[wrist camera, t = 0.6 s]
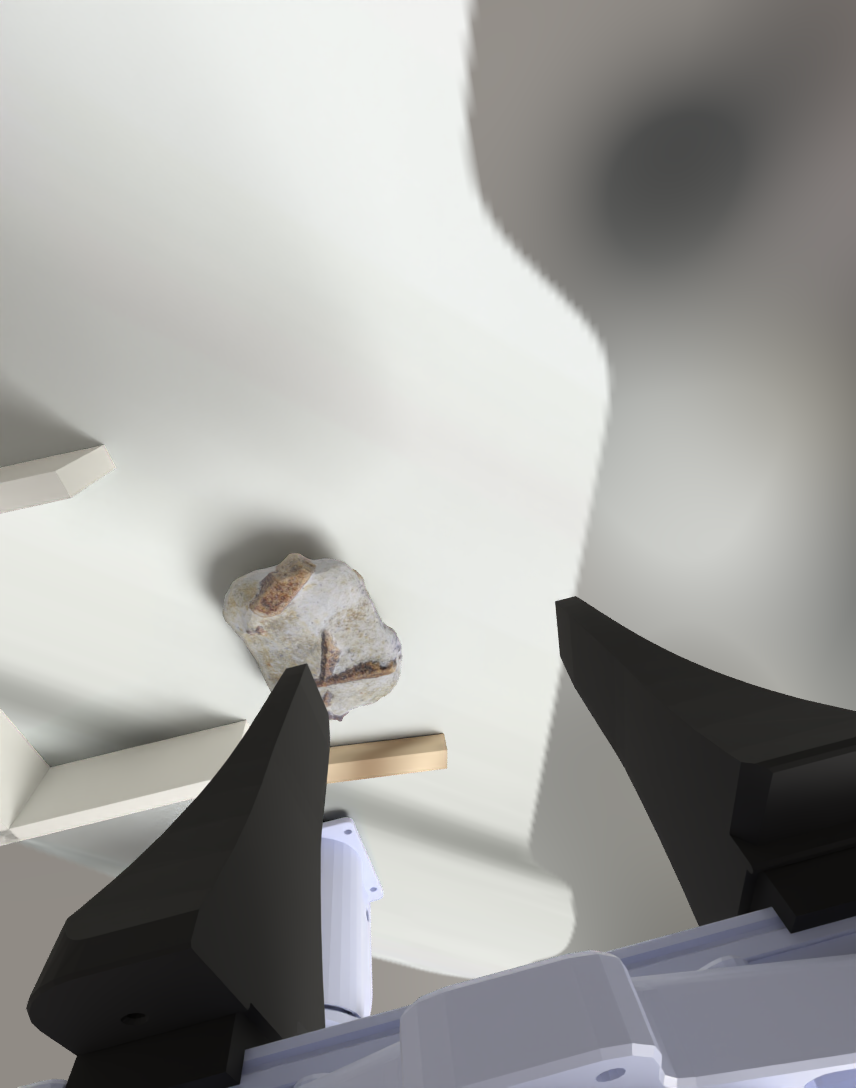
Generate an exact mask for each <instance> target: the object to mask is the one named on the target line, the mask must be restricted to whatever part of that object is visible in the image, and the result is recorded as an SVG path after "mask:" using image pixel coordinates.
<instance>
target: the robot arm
mask: <svg viewBox="0 0 856 1088" xmlns="http://www.w3.org/2000/svg"><path fill="white" fill-rule="evenodd" d="M555 605H556V616H557V627H558V638H559V649H560V657H561V659H562V661H563V663H564V666H565V668H566V670H567V672H568V674H569V676H570V678H571V681H572V683H573V685H574V687H575V689H576V690H577V692H578V693H579V695H580V697H581V698H582V700H583V701H584V703H585V705H586V706H587V708H588V710H589V711H590V713H591V714H592V716H593V717H594V719H595V720H596V722H597V724H598V725H599V727H600V729H601V730H602V732H603V733H604V735H605V736H606V738H607V739H608V741H609V743H610V744H611V746H612V747H613V749H614V751H615V752H616V754H617V756H618V757H619V759H620V761H621V762H622V764H623V766H624V767H625V769H626V772H627V774H628V776H629V777H630V780H631V782H632V783H633V786H634V787H635V789H636V791H637V793H638V795H639V797H640V799H641V801H642V803H643V805H644V808H645V810H646V812H647V814H648V816H649V818H650V820H651V822H652V824H653V826H654V828H655V830H656V832H657V834H658V836H659V838H660V840H661V843H662V845H663V847H664V849H665V852H666V854H667V856H668V858H669V860H670V862H671V864H672V867H673V869H674V871H675V873H676V875H677V877H678V880H679V882H680V884H681V886H682V888H683V891H684V893H685V895H686V898H687V900H688V902H689V905H690V907H691V909H692V911H693V914H694V916H695V918H696V920H697V923H698V925H699V927H696V928H692V929H688V930H684V931H681V932H677V933H674V934H670V935H666V936H662V937H659V938H655V939H651V940H648V941H644V942H640V943H636V944H633V945H629V946H626V947H622V948H618V949H614V950H611V951H607V952H601V951H596V950H590V951H582V952H575V953H568V954H564V955H561V956H557V957H553V958H550V959H546V960H542V961H538V962H535V963H531V964H527V965H524V966H520V967H516V968H513V969H509V970H505V971H501V972H498V973H494V974H490V975H487V976H483V977H479V978H476V979H472V980H468V981H465V982H461V983H457V984H453V985H450V986H446V987H443V988H441V989H438V990H436V991H433V992H431V993H428V994H426V995H424V996H421V997H419V999H417V1000H416V1001H415V1002H414V1003H413V1004H411V1005H408V1006H404V1007H401V1008H397V1009H393V1010H390V1011H386V1012H382V1013H379V1014H375V1015H372V1016H370V1013H371V1007H372V953H371V909H370V902H372V901H376V900H379V899H381V898H382V897H383V889H382V886H381V884H380V882H379V879H378V877H377V875H376V872H375V870H374V868H373V865H372V863H371V860H370V858H369V856H368V853H367V851H366V849H365V846H364V844H363V842H362V839H361V837H360V835H359V832H358V830H357V828H356V825H355V823H354V821H353V819H352V818H349V817H344V818H340V819H336V820H332V821H328V822H324V823H323V815H324V805H325V795H326V785H327V775H328V764H329V753H330V732H329V714H328V711H327V709H326V707H325V704H324V702H323V699H322V697H321V695H320V692H319V690H318V688H317V685H316V683H315V680H314V678H313V676H312V673H311V671H310V669H309V666H308V664H307V663H306V664H302V665H298V666H294V667H290V668H286V669H285V671H284V672H283V674H282V676H281V677H280V679H279V680H278V682H277V684H276V685H275V687H274V689H273V690H272V692H271V694H270V695H269V697H268V699H267V700H266V702H265V703H264V705H263V707H262V708H261V710H260V711H259V713H258V715H257V716H256V718H255V719H254V721H253V722H252V724H251V726H250V727H249V729H248V730H247V732H246V733H245V735H244V736H243V738H242V739H241V741H240V742H239V743H238V745H237V746H236V748H235V749H234V751H233V752H232V753H231V755H230V756H229V758H228V759H227V760H226V762H225V763H224V764H223V766H222V767H221V768H220V770H219V771H218V772H217V773H216V775H215V776H214V777H213V778H212V780H211V781H210V782H209V783H208V784H207V786H206V787H205V788H204V789H203V790H202V792H201V793H200V794H199V795H198V796H197V797H196V799H195V800H194V801H193V802H192V803H191V804H190V805H189V806H188V807H187V808H186V810H185V811H184V812H183V813H182V814H181V815H180V816H179V817H178V818H177V819H176V820H175V821H174V822H173V823H172V825H171V826H170V827H169V828H168V829H167V830H166V831H165V832H164V833H163V834H162V835H161V836H160V837H159V838H158V839H157V840H156V841H155V842H154V843H153V844H152V845H151V846H150V847H149V848H148V849H147V850H146V851H145V852H144V853H143V854H141V855H140V856H139V857H138V858H137V859H136V860H135V861H134V862H133V863H132V864H131V865H130V866H129V867H128V868H126V869H125V870H124V871H123V872H122V873H121V874H120V875H119V876H118V877H116V878H115V879H114V880H113V881H112V882H111V883H110V884H108V885H107V886H106V887H105V888H104V889H102V890H101V891H100V892H99V893H98V894H96V895H95V896H94V897H93V898H92V899H91V900H89V901H88V902H87V903H86V904H85V905H83V906H82V907H81V908H80V909H79V910H78V911H76V912H75V913H74V914H73V915H71V916H70V917H69V918H68V919H67V920H66V922H65V924H64V926H63V928H62V930H61V932H60V934H59V937H58V939H57V941H56V943H55V945H54V947H53V949H52V951H51V953H50V955H49V958H48V960H47V962H46V964H45V966H44V968H43V970H42V972H41V974H40V977H39V979H38V981H37V983H36V985H35V987H34V989H33V991H32V993H31V995H30V998H29V1001H28V1004H27V1008H26V1009H27V1012H28V1015H29V1017H30V1020H31V1022H32V1024H34V1025H35V1026H36V1027H37V1028H38V1029H39V1030H40V1031H41V1032H43V1033H44V1034H46V1035H47V1036H49V1037H50V1038H51V1039H53V1040H54V1041H56V1042H57V1043H59V1044H60V1045H62V1046H63V1047H65V1048H66V1049H68V1050H69V1051H71V1052H72V1053H74V1054H75V1055H77V1058H76V1060H75V1063H74V1066H73V1068H72V1071H71V1074H70V1076H69V1079H68V1081H66V1080H62V1079H51V1080H45V1081H40V1082H36V1083H33V1084H29V1085H25V1086H21V1087H18V1088H856V711H852V710H847V709H843V708H839V707H834V706H830V705H825V704H821V703H817V702H812V701H808V700H804V699H800V698H796V697H792V696H788V695H785V694H782V693H778V692H775V691H771V690H768V689H765V688H761V687H758V686H755V685H752V684H749V683H746V682H743V681H740V680H737V679H735V678H732V677H729V676H726V675H723V674H721V673H718V672H715V671H713V670H710V669H708V668H705V667H703V666H701V665H698V664H696V663H694V662H691V661H689V660H687V659H684V658H682V657H680V656H678V655H676V654H674V653H672V652H669V651H667V650H666V649H664V648H661V647H660V646H658V645H656V644H654V643H652V642H650V641H648V640H646V639H645V638H643V637H641V636H639V635H637V634H636V633H634V632H632V631H631V630H629V629H627V628H625V627H624V626H622V625H620V624H619V623H617V622H616V621H614V620H612V619H611V618H609V617H608V616H606V615H604V614H603V613H601V612H600V611H598V610H596V609H595V608H594V607H592V606H590V605H589V604H587V603H586V602H584V601H583V600H581V599H579V598H578V597H576V596H575V597H571V598H567V599H563V600H559V601H555Z"/></svg>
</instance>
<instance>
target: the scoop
mask: <svg viewBox="0 0 856 1088" xmlns="http://www.w3.org/2000/svg"><path fill="white" fill-rule="evenodd" d="M446 768H447V747H446V742H445V737H444V734H437V735H429V736H421V737H412V738H404V739H395V740H387V741H378V742H370V743H361V744H353V745H344V746H336V747H330V753H329V764H328V775H327V783H335V782H343V781H351V780H359V779H367V778H375V777H383V776H391V775H398V774H406V773H414V772H422V771H430V770H438V769H446Z"/></svg>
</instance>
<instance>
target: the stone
mask: <svg viewBox="0 0 856 1088" xmlns="http://www.w3.org/2000/svg"><path fill="white" fill-rule="evenodd" d="M223 616H224V619H225V621H226V622H227V623H228V624H229V625H230V626H231V628H232V629H233V630H234V631H235V632H236V633H237V634H238V636H239V637H240V638H241V639H242V640H243V641H244V642H245V644H246V645H247V647H248V649H249V651H250V652H251V653H252V655H253V656H254V658H255V659H256V660H257V662H258V664H259V667H260V669H261V671H262V674H263V676H264V678H265V681H266V683H267V685H268V687H269V689H270V691H271V692H272V690H273V689H274V687H275V685H276V684H277V682H278V680H279V679H280V677H281V676H282V674H283V672H284V671H285V669H286V668H290V667H294V666H298V665H302V664H306V663H307V664H308V666H309V669H310V671H311V673H312V676H313V678H314V680H315V683H316V685H317V688H318V690H319V692H320V695H321V697H322V699H323V702H324V704H325V707H326V709H327V711H328V714H329V720H338V721H342V719H343V717H344V716H345V715H346V714H348V712H349V710H352V709H354V708H357V707H359V706H365V705H369V704H372V703H374V702H376V701H378V700H379V699H380V698H381V697H383V696H386V695H387V694H389V693H390V692H391V691H392V689H393V688H394V686H395V685H396V684H397V682H398V679H399V677H400V674H401V661H402V652H401V643H400V640H399V638H398V637H397V633H396V632H395V631H394V630H393V629H392V628H390V627H388V626H387V625H385V624H384V623H383V622H382V620H381V618H380V617H379V615H378V613H377V611H376V608H375V606H374V603H373V601H372V600H371V598H370V596H369V593H368V591H367V590H366V588H365V583H364V579H363V577H362V576H361V575H360V574H359V573H358V572H357V571H356V570H354V569H351V568H350V567H349V566H348V565H347V564H346V563H344V562H342V561H339V560H335V559H329V558H323V559H317V560H312V559H308V558H306V557H304V556H302V555H301V554H299V553H290V554H288V555H287V557H286V558H285V559H284V560H283V561H282V562H281V563H280V564H278V565H275V566H272V567H269V568H264V569H259V570H254V571H252V572H250V573H248V574H246V575H243V576H241V577H239V578H237V579H236V580H235V581H233V583H232V584H231V586H230V588H229V590H228V592H227V593H226V595H225V600H224V605H223Z"/></svg>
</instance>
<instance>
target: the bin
mask: <svg viewBox="0 0 856 1088" xmlns="http://www.w3.org/2000/svg"><path fill="white" fill-rule="evenodd" d="M115 468H116V467H115V465H114V463H113V461H112V459H111V457H110V455H109V453H108V451H107V449H106V447H105V445H100V446H96V447H91V448H87V449H82V450H78V451H73V452H68V453H64V454H59V455H55V456H50V457H45V458H41V459H36V460H32V461H27V462H23V463H18V464H13V465H9V466H4V467H0V514H1V513H5V512H10V511H14V510H19V509H23V508H28V507H32V506H37V505H41V504H46V503H50V502H55V501H59V500H64V499H68V498H72V497H73V496H75V495H76V494H78V493H79V492H81V491H82V490H84V489H85V488H87V487H88V486H90V485H91V484H93V483H94V482H96V481H97V480H99V479H100V478H102V477H103V476H105V475H106V474H108V473H109V472H111V471H112V470H114V469H115ZM249 727H250V726H249V724H248V722H247V720H244V721H240V722H236V723H232V724H228V725H224V726H219V727H215V728H211V729H207V730H203V731H199V732H194V733H190V734H186V735H182V736H178V737H174V738H170V739H165V740H161V741H157V742H153V743H149V744H145V745H141V746H136V747H132V748H128V749H124V750H120V751H116V752H111V753H107V754H103V755H99V756H95V757H91V758H87V759H82V760H78V761H74V762H70V763H66V764H62V765H58V766H53V767H50V766H49V765H48V764H47V763H46V762H45V761H44V759H43V758H42V757H41V756H40V755H39V753H38V752H37V751H36V750H35V749H34V748H33V746H32V745H31V744H30V743H29V742H28V740H27V739H26V738H25V737H24V736H23V735H22V733H21V732H20V731H19V730H18V729H17V728H16V726H15V725H14V724H13V723H12V722H11V720H10V719H9V718H8V717H7V716H6V715H5V713H4V712H3V711H2V710H1V709H0V846H2V845H6V844H10V843H15V842H19V841H23V840H27V839H31V838H35V837H39V836H43V835H47V834H51V833H55V832H59V831H63V830H67V829H72V828H76V827H80V826H84V825H88V824H92V823H96V822H100V821H104V820H108V819H112V818H116V817H120V816H124V815H129V814H133V813H137V812H141V811H145V810H149V809H153V808H157V807H161V806H165V805H169V804H173V803H177V802H181V801H185V800H190V799H194V798H196V797H197V796H198V795H199V794H200V793H201V792H202V790H203V789H204V788H205V787H206V786H207V784H208V783H209V782H210V781H211V780H212V778H213V777H214V776H215V775H216V773H217V772H218V771H219V770H220V768H221V767H222V766H223V764H224V763H225V762H226V760H227V759H228V758H229V756H230V755H231V753H232V752H233V751H234V749H235V748H236V746H237V745H238V743H239V742H240V741H241V739H242V738H243V736H244V735H245V733H246V732H247V730H248V729H249Z"/></svg>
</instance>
